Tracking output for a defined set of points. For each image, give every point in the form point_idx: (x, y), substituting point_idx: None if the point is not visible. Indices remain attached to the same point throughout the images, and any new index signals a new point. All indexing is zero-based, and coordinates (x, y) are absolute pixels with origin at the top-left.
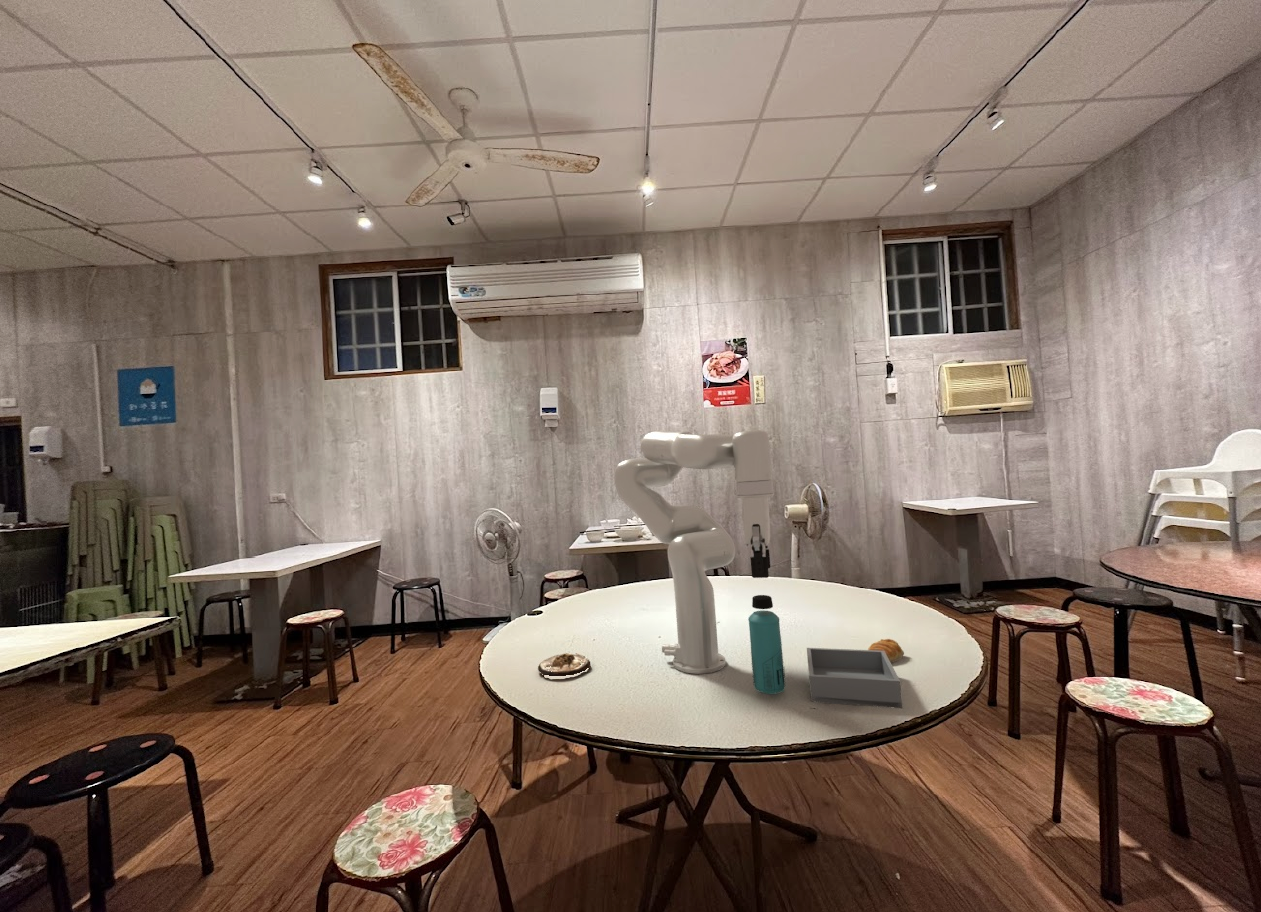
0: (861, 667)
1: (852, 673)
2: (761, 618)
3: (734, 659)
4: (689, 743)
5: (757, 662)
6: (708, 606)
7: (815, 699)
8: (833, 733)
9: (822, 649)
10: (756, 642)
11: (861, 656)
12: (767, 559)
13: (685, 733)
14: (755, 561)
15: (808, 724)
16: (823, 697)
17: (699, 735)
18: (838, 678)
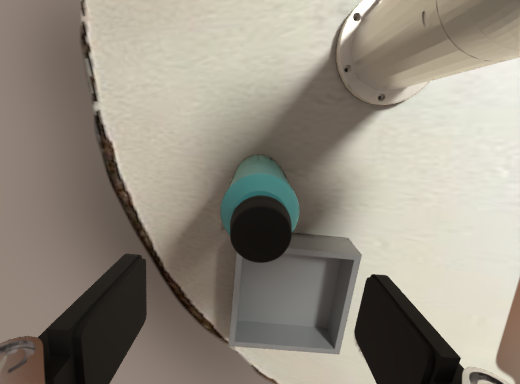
0: (332, 307)
1: (317, 292)
2: (228, 209)
3: (404, 122)
4: (98, 58)
5: (238, 170)
6: (439, 44)
7: None
8: (161, 240)
9: (350, 277)
10: (234, 178)
11: (337, 320)
12: (374, 366)
13: (123, 48)
14: (44, 337)
15: (178, 216)
16: None
17: (122, 71)
18: (234, 279)
